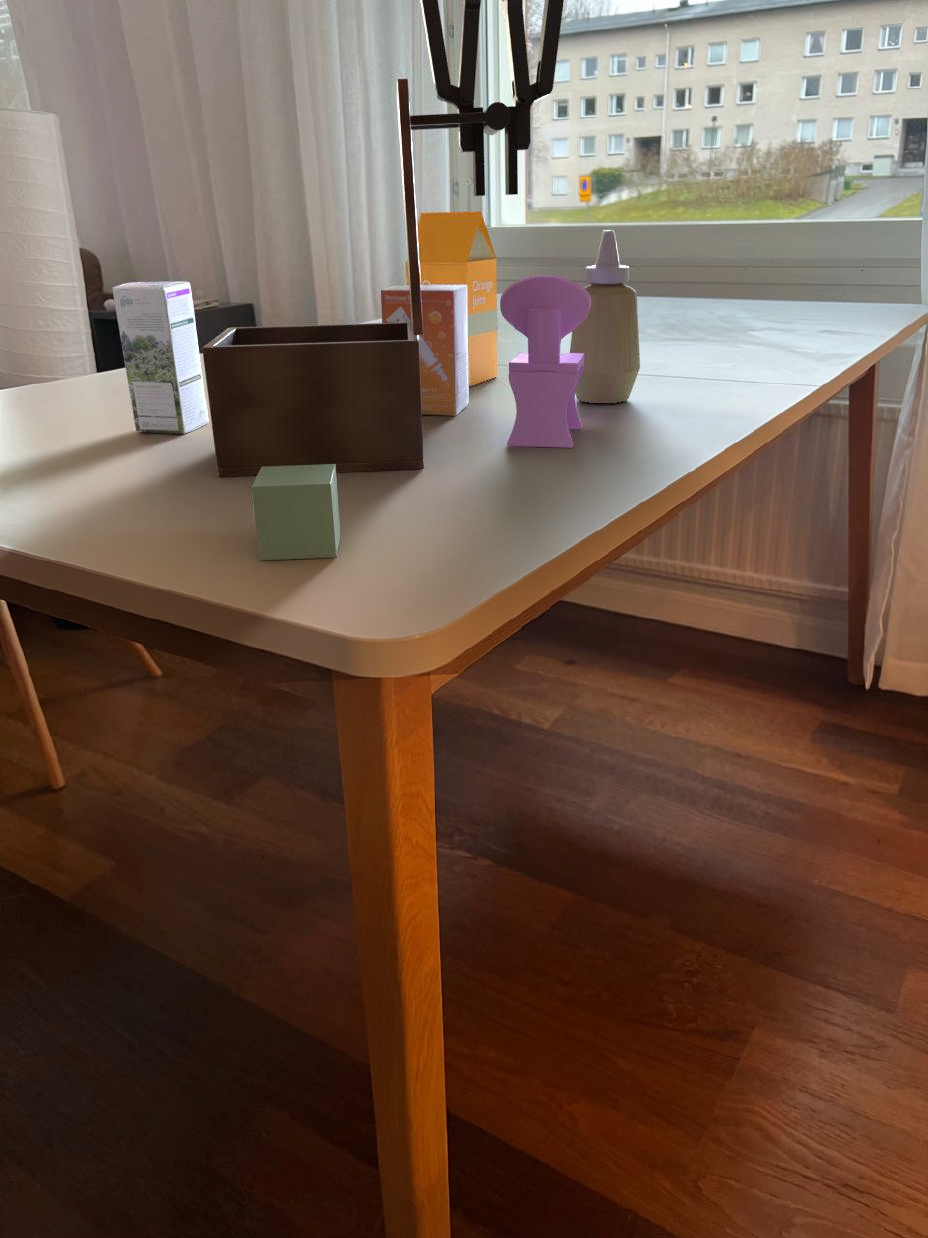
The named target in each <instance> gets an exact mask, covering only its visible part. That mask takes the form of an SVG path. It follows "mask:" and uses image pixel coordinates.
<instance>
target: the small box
mask: <svg viewBox="0 0 928 1238" xmlns="http://www.w3.org/2000/svg"><path fill="white" fill-rule="evenodd" d="M420 287H421V303H422V320H423V335H418V340H419V360H420V385H421V410H422V415H426V416H427V415H430V416H448V417H456V416H458V415H459V414H460V413H461V412H462V411H463V410H464V409H466V408H467V407H468V405H469V399H470V395H469V394H470V393H469V388H470V387H469V384H468V319H467V285H420ZM380 304H381V305H380V306H381V323H397V322H412V319H411V307H410V291H409V285H406V284H395V285H392V286H387V287H386V288H382V289H381V290H380Z"/></svg>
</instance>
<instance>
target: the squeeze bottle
mask: <svg viewBox="0 0 928 1238" xmlns="http://www.w3.org/2000/svg"><path fill="white" fill-rule="evenodd" d="M617 245H618V244H617V239H616V233H615V230H614V229H606V230H605V229H604V230H602V235H601V238H600V242H599V247H598V251H597V255H596V259H595V264H594V265H590V266H586V267H585V278H584V279H585V280H584V281H585V283H586V284H588V285H586V286H582V287H583V288H584V289H586V290H587V291H588V293H589V295H590V298H591V307H590V310H589V313H588V316H587V317H586V319H585V320H584V321H583V322H582V323H581V324H580V325H579V326H578V327H577V329H576V330H574V331H572V332H571V339H570V346H569V353H584V369H583V372H582V375H581V377H580V379H579V381H578V384H577V387H576V391H575V398H576V399H577V400H578V401H580V402H583V403H587V402H589V403H588V404H593V403H613V404H616V403H615V402H619V403H621V402H620V401H623V402H625V401H624V400H626V401H628V400H629V399H628V398H630V396H631V393H632V390H633V388H634V385H635V383H636V380H637V377H638V374H639V371H640V369H641V359H640V358H641V357H640V356H641V355H640V337H639V316H638V295H637V291H636V289H634V288H633V287H631V286H629V285H626V283H628V282H629V281H630V280H629V279H630V266H628V265H622V264H621V263H620V257H619V251H618V246H617ZM627 399H628V400H627Z"/></svg>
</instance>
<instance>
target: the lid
mask: <svg viewBox="0 0 928 1238" xmlns="http://www.w3.org/2000/svg"><path fill="white" fill-rule="evenodd" d="M409 91H410V90H409V78H397V79H396V104H397V105H396V106H397V120H398V121H397V123H398V137H399V151H400V167H401V182H402V183H401V184H402V198H403V211H404V212H403V214H404V228H405V243H406V257H407V258H406V261H407V260H408V276H409V291H410V307H411V319H412V326H413V334H414V335H423V320H422V303H421V287H420V270H419V254H418V237H417V225H418V222H417V208H416V207H417V206H416V205H417V204H416V193H415V191H416V190H415V189H416V188H415V175H414V173H415V172H414V158H413V157H414V155H413V141H412V131H425V130H427V131H428V130H446V129H459V124H465V123H484V135H488V136H495V135H497V134H498V133H500V132H501V131H502V130H505V127H506V126H507V125H508V123H509V121H510V111H509V109H508V107H509V106H507V105H506V104H505V103H503V102H501V101H495V102H492V103H491V104H489V105H488V106H487V108H485V110H483V112H476V113H458V112H457V113H437V114H435V113H433V114H415V115H414V114H413V115H411V109H410V108H411V107H410V92H409Z"/></svg>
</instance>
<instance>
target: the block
mask: <svg viewBox="0 0 928 1238" xmlns="http://www.w3.org/2000/svg"><path fill="white" fill-rule="evenodd" d="M337 481H338V480H337V473H336V467H335V464H323V465H297V466H270V467H261V469H260V471H259V473H258V475H257V476H255V479H254V481H253V484H252V485H251V494H252V495H251V496H252V501H253V502H252V504H253V513H254V521H255V531H256V538H257V548H258V554H259V555H258V557H259V561H261V562H262V561H263V562H265V561H286V560H287V561H288V560H311V559H333V558H337V557H338V552H339V545H340V539H341V534H342V532H341V522H340V521H341V519H340V507H339V506H340V505H339V493H338V482H337Z"/></svg>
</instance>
